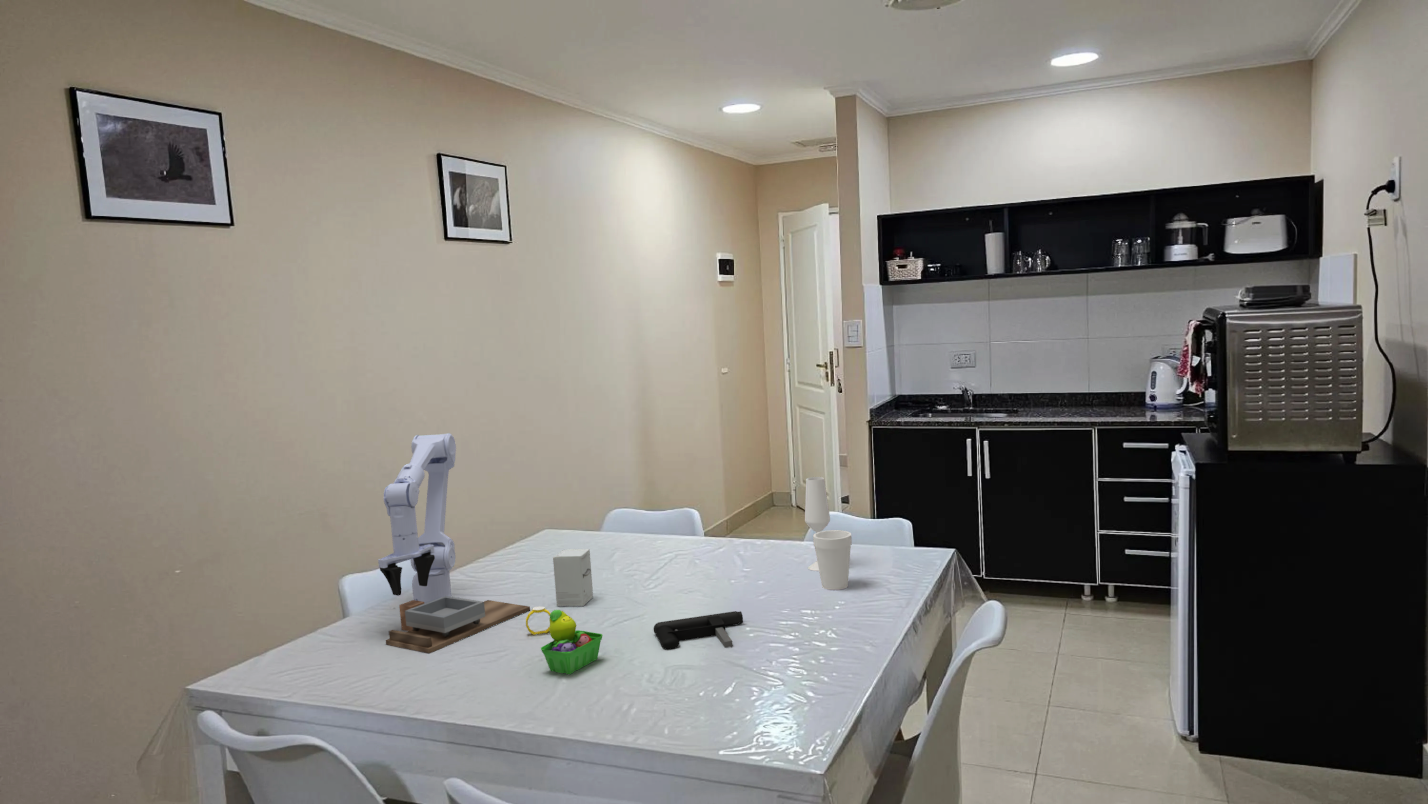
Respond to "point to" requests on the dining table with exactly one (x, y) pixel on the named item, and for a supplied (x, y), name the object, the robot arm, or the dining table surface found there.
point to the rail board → (435, 640)
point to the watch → (537, 610)
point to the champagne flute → (816, 508)
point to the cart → (445, 614)
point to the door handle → (697, 628)
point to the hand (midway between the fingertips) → (410, 590)
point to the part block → (403, 608)
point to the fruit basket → (569, 645)
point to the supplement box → (573, 577)
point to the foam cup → (833, 558)
